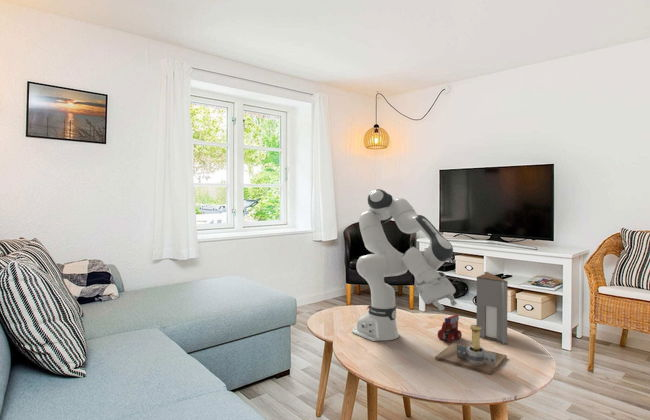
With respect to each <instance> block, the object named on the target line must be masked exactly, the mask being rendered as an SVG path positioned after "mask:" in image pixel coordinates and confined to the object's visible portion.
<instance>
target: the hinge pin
mask: <svg viewBox="0 0 650 420" xmlns="http://www.w3.org/2000/svg"><path fill="white" fill-rule="evenodd" d="M469 329H470V330H471V346H472V351H475V352H480V347H481V345H480V344H481V342H480V341H481V340H480V331H481V326H479V325H477V324H470V328H469Z"/></svg>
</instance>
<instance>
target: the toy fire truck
mask: <svg viewBox="0 0 650 420" xmlns="http://www.w3.org/2000/svg"><path fill="white" fill-rule="evenodd" d="M459 319H460V318H459V314H453V315H450V316H449V317H445V318H444V321H443V322H442V325H441V329H439V330H438V331H437V338H438V339H440V340H447V341H448V342H449V343H454V342H455V339H456V340H460V339H461V338H462V331H461V330H459Z"/></svg>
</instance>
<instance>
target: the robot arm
mask: <svg viewBox="0 0 650 420" xmlns="http://www.w3.org/2000/svg"><path fill="white" fill-rule="evenodd" d="M367 204H368V206H369V209H368V210H367V211H364V212H363V213H361V214H360V216H359V218H358V225H359V231H360V234H361V238H362V241H363V244H364V247H365V248H366V250H368V251H369V252H370V254H369V253H368V254H366V255H365V254H364V255H361V256H359V258H358V259H357V261H356V271H357V273H358V275H359V276H361V277H362V278H363V279H364V280H365V281H366V282H367V284H368V286H369V289H370V297H371V299H370V300H371V304H369V305H368V306H367V307H366V310H368V312H367V313H364V315H362V316H361V317H360V318H358V320H357V323H356V326H355V327H354V328H352V330H351V333H352V334H355V335H356V336H359V337H362V338H364V339H367V340H369V341H370V342H371V341H372V342H377V341H392V340H396V339H397V338H399V337H400V334H399V332H398V326H397V320H396V318H397V306H396V291H395V288H394V287H393V286H392V285H390V284H389V283H386V282H385V278H386V277H397V276H402V275H404V274H406V273H407V272H408V271H409V272H410V273H411V275H413V277H414V279H415V280H416V286H415V287H416V290H417V292H418V294H419V296H420V298H421V299H422V302H424V303H425V304H426V305H429V304H432V305H433V306H435V307H436V308H437V309H438V310H439V311H440V312H441V311H444V310H445V306H444V305H443V304H441V303H440V302H439V301H440V300H441V301H442V300H443V299H446V298H448V300H449V301H450V305H451V306H452V307H455V306H456V305H458V303H457V301H456V299H455V297H454V294H455V293H456V292H457V291H456V288H455V286H454V285H453V284H452V282H451V281H450V280H449V279H448V278H447V275H446V274H445V272H441V271H438V270H439V268H440V267H442V266H443V264H444V263H446V261H448V260H449V259H450V258H451V257H452V256H454V248H453V245H452V244H451V242H450V241H449V240H448V239H446V238H445V237H444V236H443V235H442V234H441V233H440V232H439V231H438V229H437V228H436V227H435V225H433V224H432V222H431V221H429V219H428V218H427V217H426V216H425V215H422V214H418V213H417V212H416V211H415V209H414V207H413V206H412V205H411V204H410V202H409V201H408V200H407V199H405V198H403V197H400V198H396V199H394V198H393V195H391V194H390V193H388V192H386V191H385V190H383V189H380V188H377V189H373V190H371V191H370V192H369V193H368V194H367ZM392 219H393V220H394V222H395V224H396V226H397V228H398V229H399V230H400V232H402V233H403V234H407V235H410V234H414V233H418V232H420V231H422V232H423V234H424V235H425V236H426V237H427V238H428V240H429V241H430V243H429V246H428V247H427V248H426V249H425V250H419V249H417V248H416V247H415V246H411V247H409V248H408V249H407V250H406V251H404V253H403V252H401V251H398V249H397V248H395V247H393V245H392V244H391V243H390V241H388V240H389V239H388V238H387V236H386V234H385V231H384V228H383V224H386V223H388V222H390V221H391V220H392Z"/></svg>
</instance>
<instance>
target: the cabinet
mask: <svg viewBox="0 0 650 420" xmlns="http://www.w3.org/2000/svg"><path fill="white" fill-rule="evenodd" d="M508 284H509V283H508V281H507V280H505V279H503V278H501V277H499V276H497V275H495V274H493V273H491V272H489V271H484V273H483V274H481V275H479V276H476V325H479V326H481V331H480V338H481V339H485V340H489V341H494V342H499V343H500V344H502V345H508Z"/></svg>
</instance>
